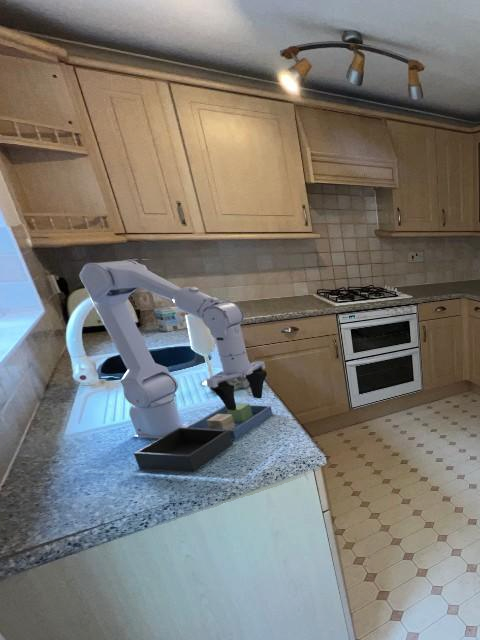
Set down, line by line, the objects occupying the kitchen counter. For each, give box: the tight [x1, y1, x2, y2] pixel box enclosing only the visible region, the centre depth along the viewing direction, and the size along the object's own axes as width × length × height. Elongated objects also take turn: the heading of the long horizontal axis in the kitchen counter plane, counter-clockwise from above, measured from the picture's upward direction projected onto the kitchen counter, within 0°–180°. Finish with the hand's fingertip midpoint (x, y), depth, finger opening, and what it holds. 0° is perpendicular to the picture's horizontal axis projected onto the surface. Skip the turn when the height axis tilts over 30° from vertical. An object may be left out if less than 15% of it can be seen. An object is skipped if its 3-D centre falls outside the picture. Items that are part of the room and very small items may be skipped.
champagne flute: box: [186, 313, 216, 387], centre depth 137 cm, size 7×7×24 cm
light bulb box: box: [153, 305, 188, 333], centre depth 205 cm, size 11×7×11 cm, turn 159°
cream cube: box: [207, 414, 235, 430], centre depth 108 cm, size 4×4×4 cm
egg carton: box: [208, 375, 250, 395], centre depth 135 cm, size 11×8×4 cm
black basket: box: [133, 428, 234, 473], centre depth 96 cm, size 13×12×4 cm
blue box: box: [187, 404, 273, 441], centre depth 111 cm, size 13×15×3 cm
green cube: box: [227, 402, 253, 422], centre depth 114 cm, size 4×4×4 cm
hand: (245, 403), depth 103 cm, fingers open, 7 cm apart
